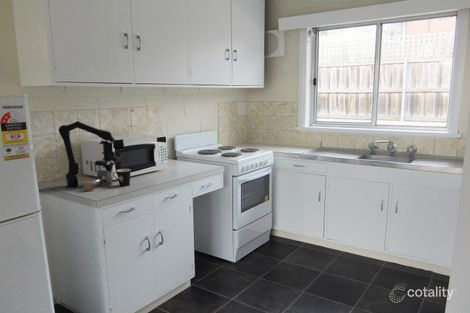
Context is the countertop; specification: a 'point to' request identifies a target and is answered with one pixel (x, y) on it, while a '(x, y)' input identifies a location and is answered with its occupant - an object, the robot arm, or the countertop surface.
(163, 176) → the countertop surface
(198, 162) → the countertop surface
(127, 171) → the coffee mug
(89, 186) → the metal shaft
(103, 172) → the collar
